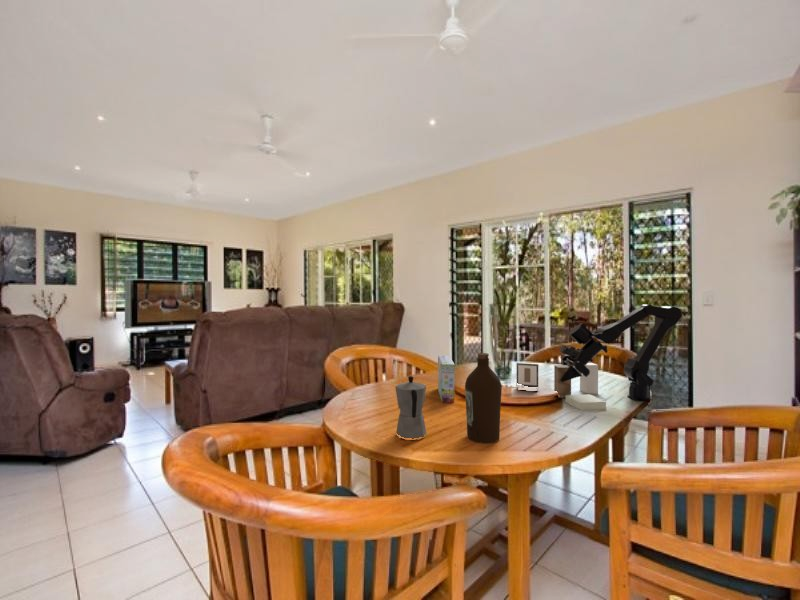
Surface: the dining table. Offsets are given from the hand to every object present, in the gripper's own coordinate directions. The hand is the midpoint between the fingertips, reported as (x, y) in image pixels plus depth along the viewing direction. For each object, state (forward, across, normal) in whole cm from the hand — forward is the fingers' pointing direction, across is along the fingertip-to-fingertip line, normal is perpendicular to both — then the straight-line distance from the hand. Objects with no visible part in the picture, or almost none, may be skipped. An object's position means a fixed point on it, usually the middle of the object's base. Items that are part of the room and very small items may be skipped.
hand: (559, 379), depth 157 cm
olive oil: (+30, +45, -20) cm, 58 cm away
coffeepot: (+45, +47, -35) cm, 74 cm away
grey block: (-5, -9, +16) cm, 19 cm away
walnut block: (+4, 0, +6) cm, 7 cm away
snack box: (+37, 0, -27) cm, 46 cm away
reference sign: (+12, -11, -2) cm, 16 cm away
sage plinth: (+1, +10, +10) cm, 14 cm away
